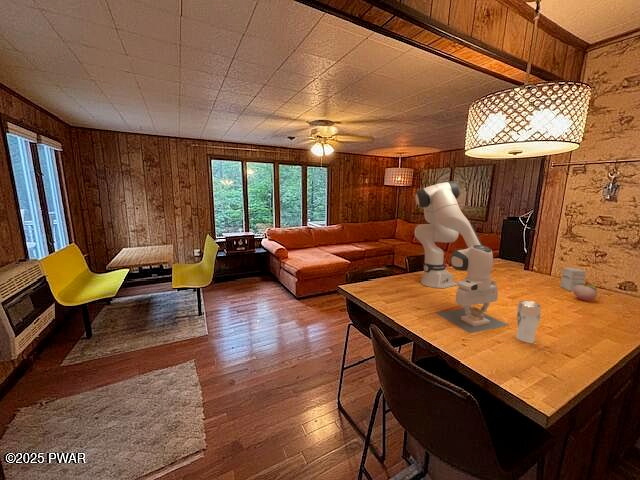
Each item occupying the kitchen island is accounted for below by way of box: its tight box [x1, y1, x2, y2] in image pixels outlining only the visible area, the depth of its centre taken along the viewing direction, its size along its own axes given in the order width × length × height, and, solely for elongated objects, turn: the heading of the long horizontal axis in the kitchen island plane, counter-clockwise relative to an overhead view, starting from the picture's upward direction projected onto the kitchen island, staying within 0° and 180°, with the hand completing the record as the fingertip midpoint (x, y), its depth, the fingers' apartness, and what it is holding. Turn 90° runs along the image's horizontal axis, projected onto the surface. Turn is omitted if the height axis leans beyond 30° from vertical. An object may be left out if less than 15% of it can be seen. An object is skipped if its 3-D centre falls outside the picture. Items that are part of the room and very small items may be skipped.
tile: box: [461, 315, 490, 327], centre depth 116 cm, size 2×7×9 cm
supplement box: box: [560, 267, 587, 292], centre depth 157 cm, size 7×7×13 cm
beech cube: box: [468, 307, 485, 321], centre depth 115 cm, size 4×4×4 cm
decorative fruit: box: [572, 282, 598, 302], centre depth 139 cm, size 9×8×10 cm
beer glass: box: [515, 300, 542, 345], centre depth 100 cm, size 7×7×15 cm
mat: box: [435, 306, 510, 334], centre depth 119 cm, size 22×20×1 cm
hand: (475, 312), depth 115 cm, fingers open, 8 cm apart
